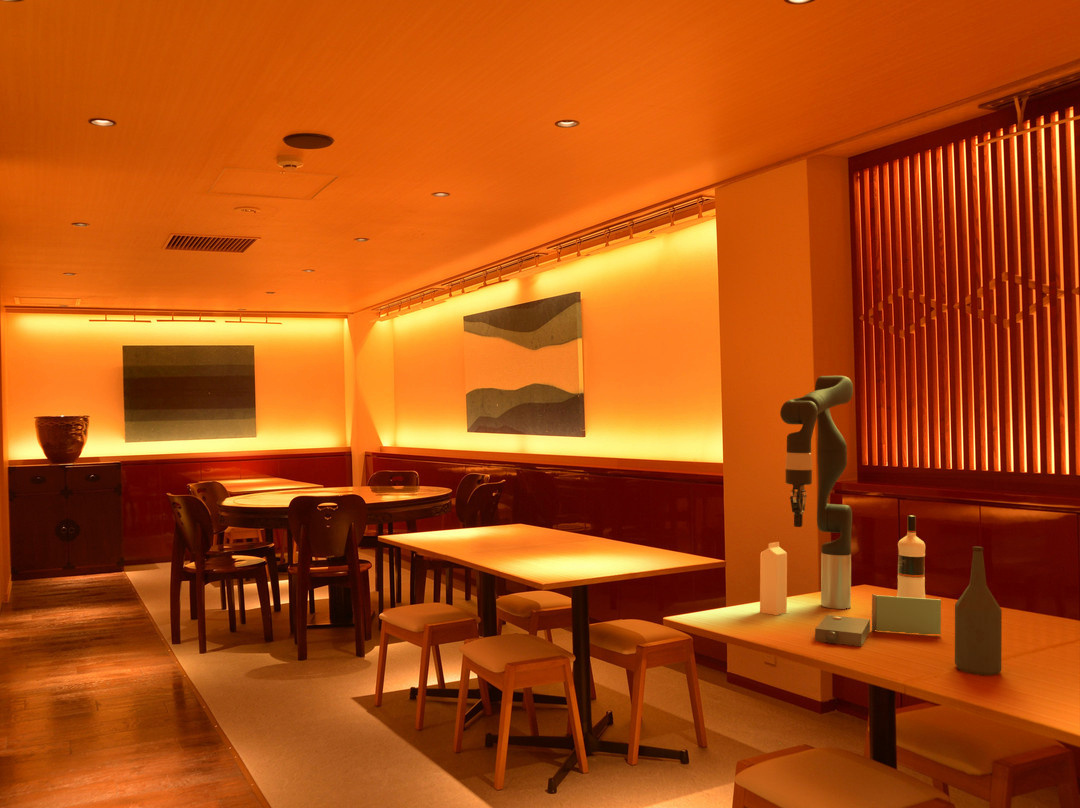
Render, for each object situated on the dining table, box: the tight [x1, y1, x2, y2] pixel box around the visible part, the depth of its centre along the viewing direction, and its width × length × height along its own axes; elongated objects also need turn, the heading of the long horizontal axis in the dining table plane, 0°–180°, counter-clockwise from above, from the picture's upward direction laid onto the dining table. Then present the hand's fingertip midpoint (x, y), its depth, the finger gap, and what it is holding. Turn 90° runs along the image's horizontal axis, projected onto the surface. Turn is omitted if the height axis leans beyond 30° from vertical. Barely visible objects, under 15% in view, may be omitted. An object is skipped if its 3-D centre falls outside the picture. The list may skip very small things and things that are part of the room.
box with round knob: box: [814, 614, 871, 647], centre depth 250 cm, size 22×12×4 cm, turn 154°
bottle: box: [954, 546, 1003, 676], centre depth 218 cm, size 10×10×30 cm
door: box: [871, 593, 942, 636], centre depth 255 cm, size 18×1×10 cm, turn 73°
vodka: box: [896, 515, 926, 599], centre depth 292 cm, size 9×9×30 cm
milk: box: [759, 541, 788, 616], centre depth 281 cm, size 6×6×22 cm
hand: (798, 526), depth 265 cm, fingers closed
